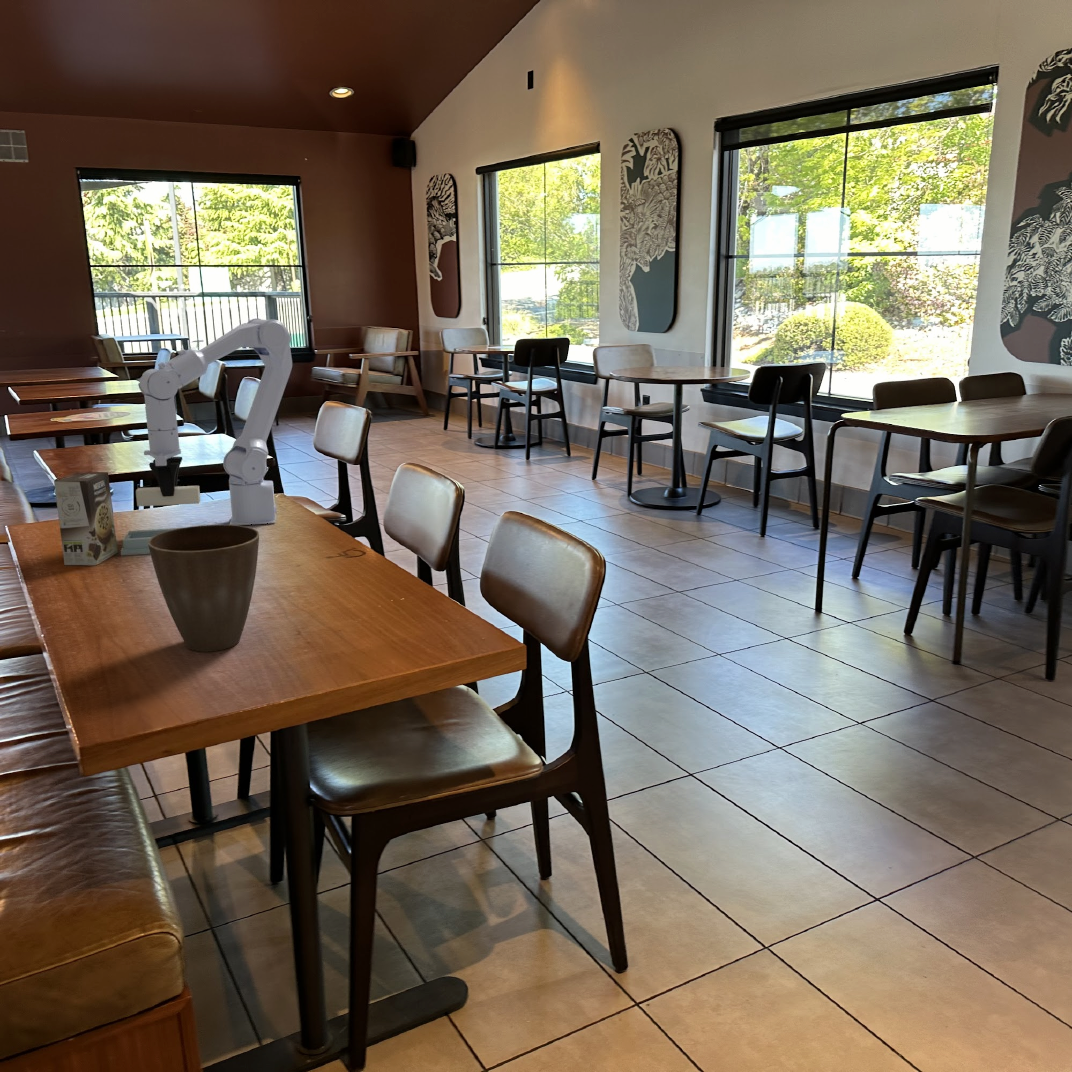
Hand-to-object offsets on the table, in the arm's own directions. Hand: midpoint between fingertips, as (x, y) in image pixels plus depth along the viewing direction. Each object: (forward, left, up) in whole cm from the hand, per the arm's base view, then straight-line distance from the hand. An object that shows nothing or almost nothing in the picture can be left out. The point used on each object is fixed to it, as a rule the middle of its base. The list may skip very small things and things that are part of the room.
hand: (169, 494), depth 197 cm
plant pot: (-13, +68, -9) cm, 70 cm away
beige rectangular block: (0, 0, -2) cm, 2 cm away
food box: (+13, +16, -9) cm, 22 cm away
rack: (0, +11, -8) cm, 13 cm away
